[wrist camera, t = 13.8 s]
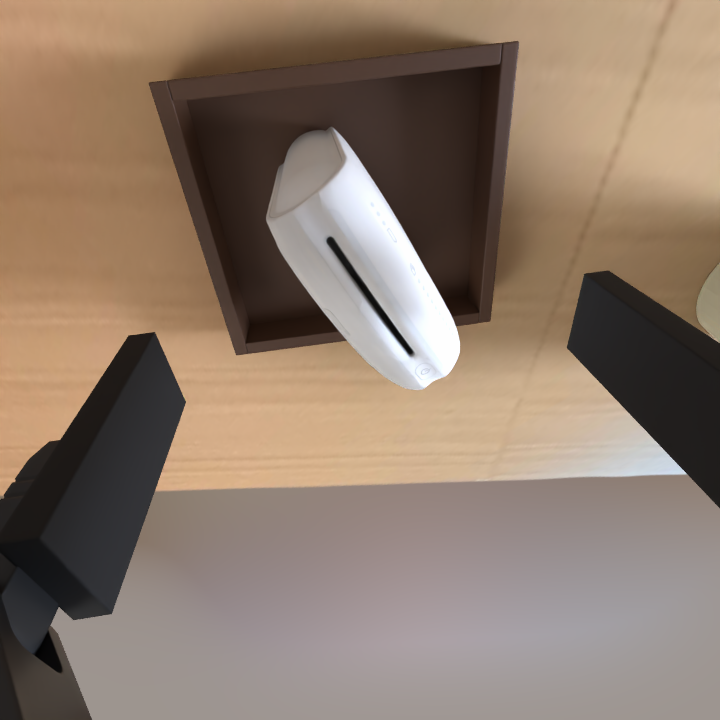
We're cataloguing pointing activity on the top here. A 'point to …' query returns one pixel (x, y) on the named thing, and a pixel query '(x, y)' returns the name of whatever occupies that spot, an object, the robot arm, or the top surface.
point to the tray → (378, 156)
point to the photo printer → (360, 262)
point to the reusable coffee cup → (710, 304)
